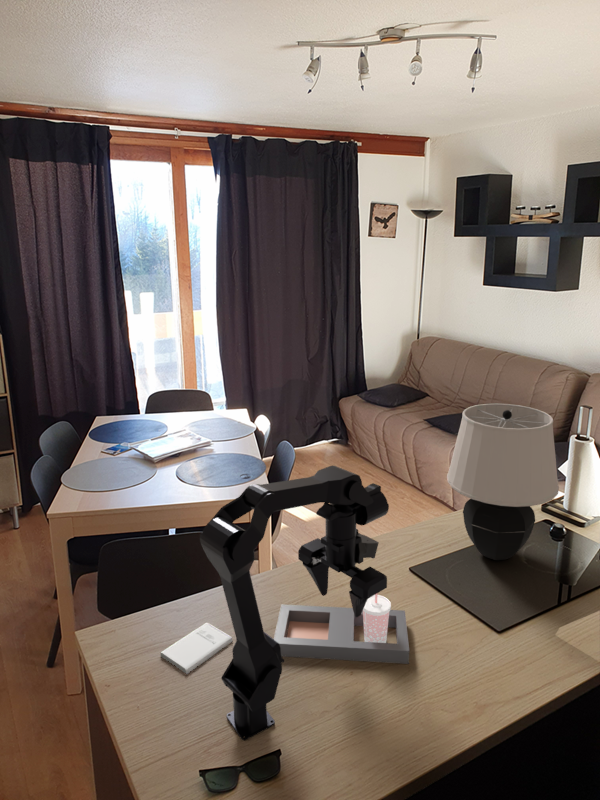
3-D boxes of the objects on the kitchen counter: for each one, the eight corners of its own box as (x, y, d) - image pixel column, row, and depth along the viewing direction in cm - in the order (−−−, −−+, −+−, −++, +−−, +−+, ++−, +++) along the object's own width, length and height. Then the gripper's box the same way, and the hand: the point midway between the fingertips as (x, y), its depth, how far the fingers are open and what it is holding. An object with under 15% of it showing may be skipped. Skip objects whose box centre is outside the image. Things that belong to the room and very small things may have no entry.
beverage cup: (395, 643, 123) (397, 584, 119) (372, 654, 120) (373, 594, 116) (377, 627, 128) (379, 570, 124) (354, 637, 125) (355, 579, 121)
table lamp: (496, 522, 173) (507, 390, 162) (574, 566, 150) (593, 416, 139) (421, 544, 162) (428, 404, 151) (493, 596, 138) (507, 434, 127)
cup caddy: (404, 622, 130) (404, 610, 129) (408, 663, 117) (409, 651, 116) (281, 615, 132) (281, 604, 132) (273, 655, 120) (272, 643, 119)
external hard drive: (160, 658, 121) (206, 627, 130) (186, 676, 115) (232, 643, 125) (160, 651, 120) (206, 621, 129) (186, 669, 115) (232, 636, 124)
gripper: (407, 536, 108) (405, 610, 113) (336, 503, 122) (336, 570, 126) (366, 558, 101) (365, 635, 106) (295, 520, 115) (297, 590, 119)
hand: (340, 605), depth 114 cm, fingers open, 9 cm apart
